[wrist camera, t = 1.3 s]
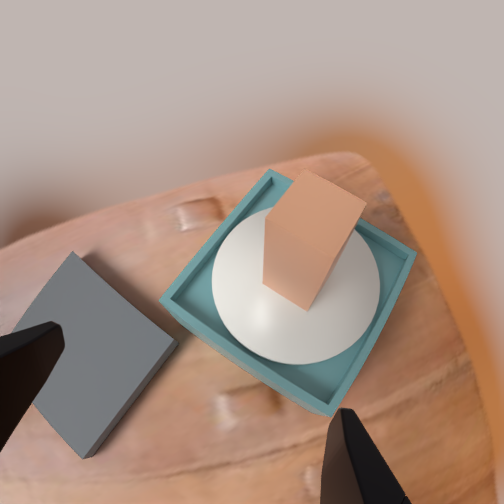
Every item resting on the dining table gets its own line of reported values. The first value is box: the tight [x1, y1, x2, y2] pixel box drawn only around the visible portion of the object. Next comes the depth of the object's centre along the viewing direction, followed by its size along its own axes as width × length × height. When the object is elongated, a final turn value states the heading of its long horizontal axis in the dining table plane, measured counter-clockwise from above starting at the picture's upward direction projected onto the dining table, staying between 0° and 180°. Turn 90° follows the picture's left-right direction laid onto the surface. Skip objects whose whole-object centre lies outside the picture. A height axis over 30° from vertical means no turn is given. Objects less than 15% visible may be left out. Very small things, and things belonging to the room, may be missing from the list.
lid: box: [212, 168, 380, 365], centre depth 16 cm, size 10×10×8 cm
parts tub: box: [159, 169, 417, 417], centre depth 21 cm, size 12×12×6 cm
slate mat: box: [12, 251, 179, 459], centre depth 21 cm, size 12×12×2 cm
